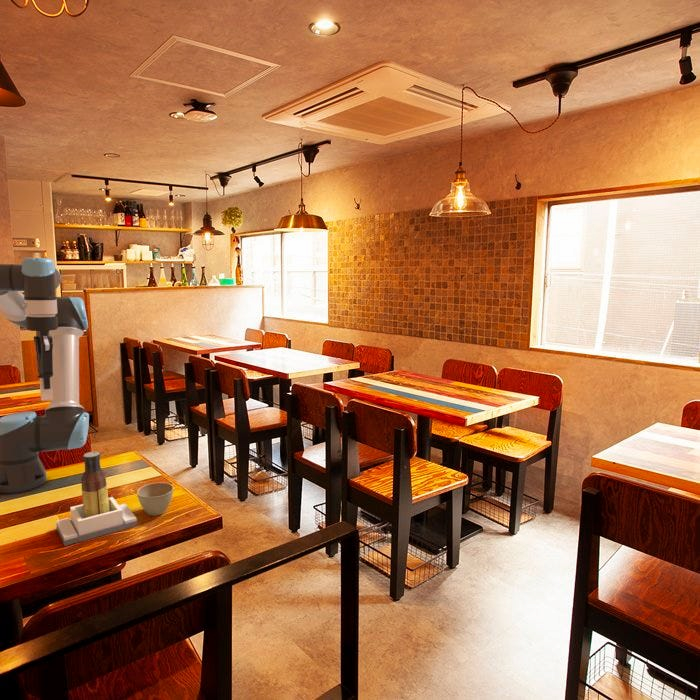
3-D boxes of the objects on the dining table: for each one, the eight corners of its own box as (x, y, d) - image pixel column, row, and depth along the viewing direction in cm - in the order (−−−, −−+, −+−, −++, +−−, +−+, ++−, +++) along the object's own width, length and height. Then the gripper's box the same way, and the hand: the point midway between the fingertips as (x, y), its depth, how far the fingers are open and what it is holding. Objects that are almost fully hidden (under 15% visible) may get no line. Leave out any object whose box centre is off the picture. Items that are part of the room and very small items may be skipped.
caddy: (56, 528, 141) (55, 509, 140) (125, 510, 152) (124, 493, 151) (64, 546, 133) (63, 526, 132) (137, 525, 144) (136, 507, 143)
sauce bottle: (107, 514, 147) (104, 447, 144) (112, 523, 142) (109, 454, 139) (81, 520, 143) (78, 452, 140) (85, 529, 138) (82, 459, 135)
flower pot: (139, 506, 155) (138, 484, 154) (174, 502, 158) (173, 480, 157) (136, 522, 146) (135, 498, 145) (173, 518, 149) (173, 494, 148)
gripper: (21, 313, 142) (27, 396, 146) (29, 318, 132) (35, 406, 136) (52, 312, 147) (57, 393, 150) (61, 317, 137) (67, 402, 140)
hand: (47, 399), depth 143 cm, fingers closed
